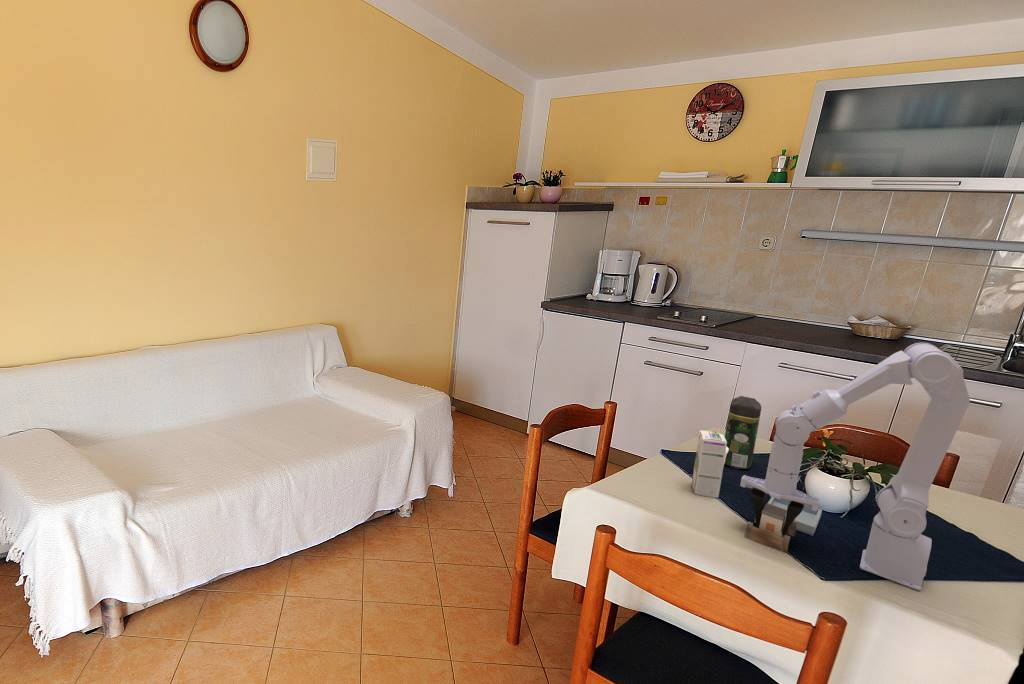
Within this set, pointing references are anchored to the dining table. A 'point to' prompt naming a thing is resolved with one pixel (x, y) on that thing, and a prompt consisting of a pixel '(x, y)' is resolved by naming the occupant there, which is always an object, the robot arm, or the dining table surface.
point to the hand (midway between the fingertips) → (771, 528)
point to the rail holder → (770, 536)
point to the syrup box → (709, 463)
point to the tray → (801, 516)
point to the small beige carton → (773, 519)
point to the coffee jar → (742, 431)
